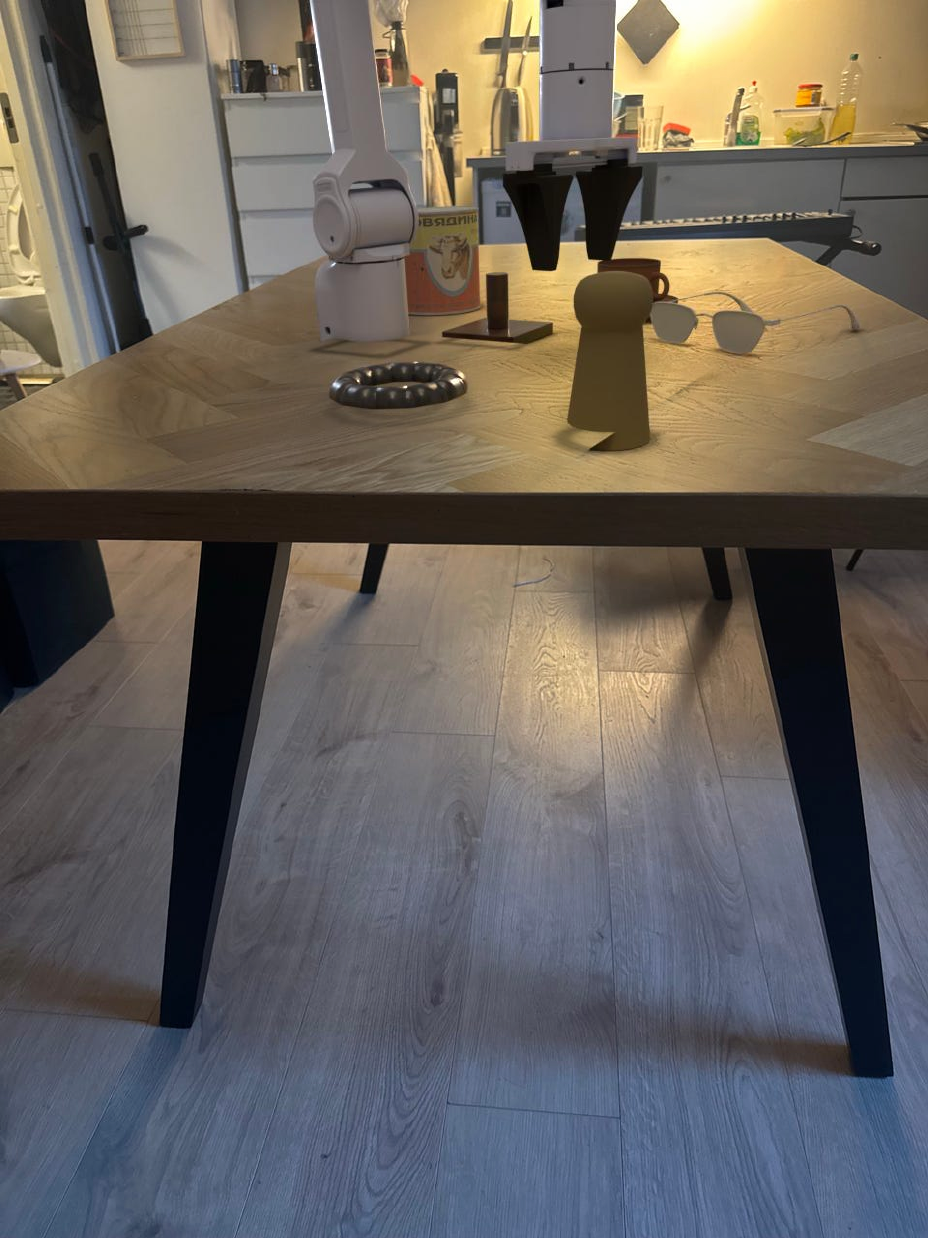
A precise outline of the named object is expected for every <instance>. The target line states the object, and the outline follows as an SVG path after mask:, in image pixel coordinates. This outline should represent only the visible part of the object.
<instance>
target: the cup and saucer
mask: <svg viewBox="0 0 928 1238" xmlns="http://www.w3.org/2000/svg"><path fill="white" fill-rule="evenodd" d="M661 266H662V261H661V260H660V259H656V258H649V257H648V258H646V257H645V258H644V257H623V258H622V257H621V258H612V259H611V260H609V261H602V260H598V261H597V268H596V269H597V272H596V273H600V272H606V271H625V272H631V273H635V274H639V275H642V276H644V277H645V278H647V279H648V281H649V283H650V285H651V287H652V292H653V303H655V302H669V301H673V300H678V299H679V298H678V297H677V296H675V295H670V294H669V292H670V281H669V278H668V276H667V275H666V274H665V273H663V272H661V268H662V267H661ZM660 280H661V281H662V283H663V291H662V292H661V293H659V291H660ZM672 303H677V304H679V301H674V302H672ZM647 319H651V318H650V316H649V317H648V318H647Z"/></svg>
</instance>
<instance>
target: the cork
mask: <svg viewBox="0 0 928 1238" xmlns="http://www.w3.org/2000/svg"><path fill="white" fill-rule="evenodd" d="M652 306H653V292H652V287H651V285H650V283H649V281H648V279H647V278H645V277H644V276H642V275H639V274H635V273H631V272H625V271H606V272H600V273H597V272H596V273H593V274H588V275H586V276H585V277H583V278H582V279H580V280H579V282H578V283H577V285H576V287H575V290H574V293H573V311H574V316H575V318H576V320H577V321H578V323H579V325H580V332H579V338H578V346H577V351H576V359H575V365H574V370H573V371H574V373H573V377H572V378H573V380H572V384H571V385H572V386H571V391H570V398H569V405H568V412H567V418H566V420H567V421H566V422H567V424H568V425H569V426H571V427H573V428H575V429H577V430H582V431H588V432H594V433H595V432H596V433H612V434H610V435H609V436H607V437H605V438H604V439H602V440H601V441H599V442H597V443H596V444H594V445H593V446H592V447H590V448H589V451H601V452H602V451H604V452H605V451H606V452H607V451H613V452H614V451H625V450H631V449H636V448H640V447H642V446H644V445H646V444H648V443H649V441H650V440H651V431H650V430H651V429H650V417H649V416H650V415H649V402H648V399H649V398H648V386H647V370H646V369H647V368H646V355H645V354H646V353H645V342H644V324H645V323H646V321H647V320H648V319H649V318H648V317H649V316H650V313H651V309H652Z"/></svg>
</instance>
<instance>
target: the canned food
mask: <svg viewBox="0 0 928 1238" xmlns="http://www.w3.org/2000/svg"><path fill="white" fill-rule="evenodd" d="M417 210H418V216H419V226H418V232H417V236H416V238H415V240H414V242H413V244H412V245H411V246H410V247H409V253H410V255H408V256H404V257H403V258H404V259H405V274H406V289H407V303H408V316H411V315H412V316H427V317H428V316H429V317H431V316H450V315H459V314H465V313H466V314H467V313H470V312H474V311H478V310H479V309H480V308H482V304H481V288H480V287H481V282H480V255H479V254H480V249H479V247H480V246H479V244H480V243H479V212H478V211H479V207H478V206H473V205H471V206H470V205H467V206H466V205H451V206H449V205H448V206H447V205H446V206H428V207H427V206H426V207H425V206H423V207H417Z"/></svg>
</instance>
